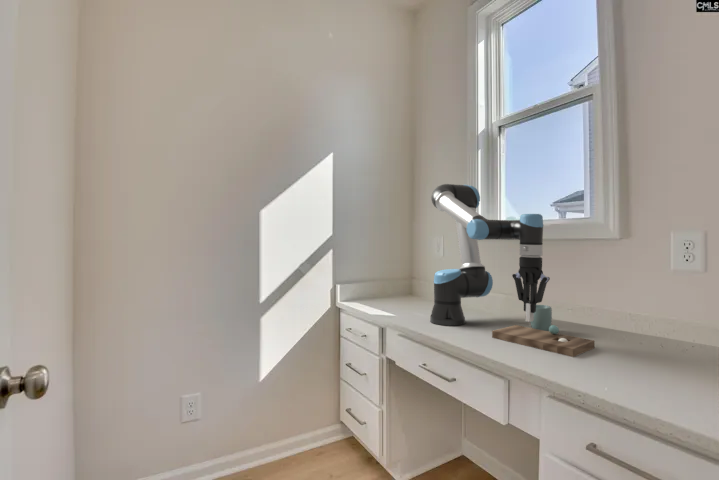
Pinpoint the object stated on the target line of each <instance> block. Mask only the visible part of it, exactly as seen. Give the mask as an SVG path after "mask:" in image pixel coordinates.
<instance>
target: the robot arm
mask: <svg viewBox="0 0 719 480" xmlns="http://www.w3.org/2000/svg"><path fill="white" fill-rule="evenodd" d="M430 198H431V203H432V205H433V206H434V207H435V208H436V209H437V210H438V211H439V212H440V211H441V212H445V214H447V215H448V216H450V217H451V218H452V219H454V220H455V226H456V227H455V228H456V232H457V233H456V234H457V239H458V241H457V242H458V247H459V248H458V249H459V255H460V263H461V266H460V267H459V268H449V269H448V268H447V269H441V270H438V271H436V272H435V273H434V277H433V295H434V296H433V299H434V300H433V302H434V303H433V306H432V310H431V313H430V315H429V316H430V323H432V324H435V325H439V326H454V327H455V326H462V325H464V324H466V316H465V315H464V314H465V313H464V312H463V308H462V299H464V298H465V299H466V298H482V297H487V296H488V295H489V294H490V292H491V291H492V289H493V283H494V282H493V281H494V280H493V276H492V275H491V272H489V271H488V270H487V271H486V266H485V265H484V264H483V263H481V256H480V249H479V242H478V241H480V240H481V241H483V240H501V241H502V240H505V241H510V240H517V241H518V240H519V255H520V257H519V259H518V260H519V263H518V265H519V268H518V271H517V272H516V273H512V274H511V275H512V276H511V277H512V279H513V280H514V282H515V283H514V284H515V289H516V294H517V297H518V301H521V302H523V311H524V312H525V322H528V323H530V322H531V321H533V319H534V313H535V312H536V305H538V304H539V303H542V301H543V298H544V295H545V292H546V288H547V284H548V282H549V281H550V277H549V276H546V275H545V274H544V271H543V258H542V256H543V237H544V236H543V235H544V234H543V233H544V219H543V215H542V214H541V213H523V214H521V215H520V216H519V217H520V218H519V219H518V220H517V219H516V220H514V219H513V220H512V219H511V220H510V219H509V220H508V219H501V220H500V219H487V218H486V217H485V216H482V215H481V214H479V212H477V208H478V207H479V205H480V201H481V196H480V192H479V190H478V189H477V187H475V186H473V185H470V184H452V183H451V184H450V183H444V184H440V185H437V187H435V189H434V190H433V192H432V194H431V197H430ZM539 280H540V282H539ZM538 285H539V286H538Z"/></svg>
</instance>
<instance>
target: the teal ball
mask: <svg viewBox="0 0 719 480" xmlns="http://www.w3.org/2000/svg"><path fill="white" fill-rule="evenodd" d="M549 332H550V333H551V334H557V333H559V332H560V329H559V327H558V326H557V325H556V324H555V325H553V324H551V326H550V327H549Z"/></svg>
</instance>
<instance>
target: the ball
mask: <svg viewBox="0 0 719 480" xmlns="http://www.w3.org/2000/svg"><path fill="white" fill-rule="evenodd" d="M558 341H561V342H568V340H567V339H565V338H560V339H559V340H558Z"/></svg>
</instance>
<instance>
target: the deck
mask: <svg viewBox="0 0 719 480" xmlns="http://www.w3.org/2000/svg"><path fill="white" fill-rule="evenodd" d="M491 338H493V339H496V340H501V341H505V342H508V343H509V342H510V343H512V344H513V343H514V344H517V345H522V346H525V347H526V346H527V347H530V348H535V349H537V350H541V351H542V350H543V351H547V352H550V353H556V354H560V355H563V356H567V357H572V358H574V357H577V356H579V355H581V354H584V353H586V352H588V351H590V350H591V351H592V350H593V349H595V348H596V347H595V344H596V343H595V340H593V339H589V338H584V337H578V336H573V335H569V334H568V335H567V334H562V333H559V332H558V333H557V334H551V333H550V331H544V330H538V329H533V328H532V327H527V326H523V325H518V324H514V325H510V326H506V327H503V328H498V329H494V330H492V331H491ZM560 338H565V339H567V340H568V342H561V341H558V340H559V339H560Z"/></svg>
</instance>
